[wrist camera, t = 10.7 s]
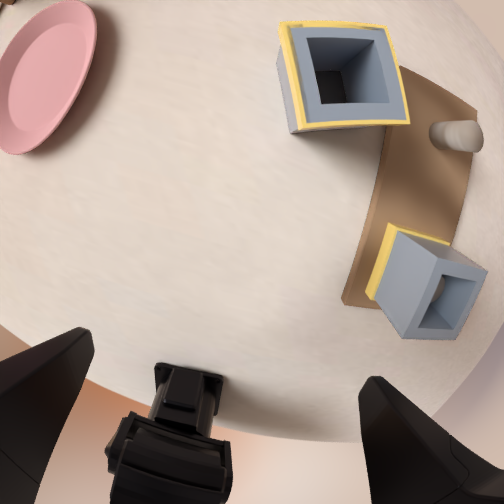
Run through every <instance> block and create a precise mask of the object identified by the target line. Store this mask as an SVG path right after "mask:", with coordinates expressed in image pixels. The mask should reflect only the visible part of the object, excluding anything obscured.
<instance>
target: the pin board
mask: <svg viewBox="0 0 504 504" xmlns="http://www.w3.org/2000/svg"><path fill="white" fill-rule="evenodd" d="M399 69H400V73H401V77H402V82H403V86H404V91H405V96H406V101H407V106H408V112H409V118H410V124H407V125H399V126H395V125H387V127H386V133H385V139H384V144H383V149H382V154H381V159H380V164H379V169H378V173H377V178H376V182H375V186H374V190H373V195H372V199H371V203H370V206H369V210H368V214H367V218H366V221H365V225H364V229H363V232H362V235H361V239H360V242H359V246H358V249H357V252H356V255H355V258H354V262H353V265H352V268H351V271H350V274H349V277H348V280H347V283H346V285H345V288H344V291H343V294H342V297H341V299H342V301H343V303H344V305H348V306H356V307H364V308H372V309H381V307H380V306H379V305H378V303H377V302H376V301H374V300H370V299H369V297H368V296H367V294H366V293H365V290H366V288H367V285H368V282H369V279H370V277H371V274H372V271H373V268H374V265H375V263H376V260H377V257H378V254H379V251H380V247H381V244H382V241H383V238H384V235H385V231H386V228H387V225H388V222H389V223H393V224H397V225H400V226H404V227H407V228H410V229H414V230H417V231H421V232H424V233H427V234H430V235H434V236H437V237H440V238H442V239H444V240H446V241H448V242H449V243H450V245H449V246H450V247H451V244H452V240H453V237H454V234H455V231H456V227H457V224H458V221H459V217H460V213H461V209H462V206H463V202H464V197H465V193H466V189H467V184H468V179H469V174H470V168H471V162H472V156H473V152H479V151H480V150H481V149H482V147H483V142H484V138H483V133H482V130H481V128H480V126H479V125H478V124H477V123H476V122H477V110H476V109H474V108H473V107H471V106H470V105H469V104H467V103H466V102H464V101H463V100H461V99H460V98H458V97H457V96H455V95H453V94H452V93H450V92H449V91H447V90H445V89H444V88H442V87H440V86H439V85H437V84H435V83H433V82H432V81H430V80H428V79H426V78H424V77H422V76H420V75H419V74H417V73H415V72H413V71H411V70H409V69H407V68H404V67H402V66H399ZM444 287H445V280H444V278H443V277H442V276H441V278H440V281H439V283H438V286H437V288H436V290H435V293H434V295H433V297H432V299H431V302H433V301H435V300H437V299H438V298H439V297H440V295H441V294H442V292H443V290H444ZM431 302H430V303H431ZM381 310H382V309H381Z"/></svg>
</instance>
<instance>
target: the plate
mask: <svg viewBox="0 0 504 504" xmlns="http://www.w3.org/2000/svg"><path fill="white" fill-rule="evenodd" d="M96 40H97V23H96V18H95V15H94V13H93V11H92V9H91V8H90V7H89V6H88V5H87V4H85V3H84V2H81V1H78V0H65V1H61V2H58V3H55V4H53V5H51V6H49V7H47V8H45V9H43V10H42V11H40V12H39V13H38V14H36V15H35V16H34V17H32V18H31V19H30V20H29V21H28V22H27V23H26V24H25V25H24V26H23V27H22V28H21V29H20V30H19V32H18V33H17V34H16V35H15V37H14V38H13V39H12V41H11V42H10V44H9V45H8V47H7V48H6V50H5V52H4V53H3V55H2V57H1V59H0V149H2V150H3V151H4V152H6V153H9V154H13V155H19V154H24V153H27V152H29V151H31V150H33V149H35V148H36V147H38V146H39V145H40V144H42V143H43V142H44V141H45V140H46V139H47V138H48V137H49V136H50V135H51V134H52V133H53V132H54V131H55V129H56V128H57V127H58V126H59V124H60V123H61V122H62V120H63V119H64V117H65V116H66V114H67V113H68V111H69V110H70V108H71V106H72V105H73V103H74V101H75V99H76V98H77V96H78V94H79V92H80V90H81V88H82V86H83V83H84V81H85V79H86V76H87V74H88V71H89V68H90V65H91V62H92V59H93V55H94V51H95V46H96Z"/></svg>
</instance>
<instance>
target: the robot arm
mask: <svg viewBox="0 0 504 504" xmlns="http://www.w3.org/2000/svg"><path fill="white" fill-rule="evenodd" d="M94 352H95V351H94V344H93V340H92V334H91V332H90V330H88V329H85V328H82V327H77V328H75V329H72V330H70V331H68V332H66V333H63V334H61V335H59V336H56V337H54V338H52V339H50V340H47V341H45V342H43V343H41V344H38V345H36V346H34V347H32V348H30V349H27V350H25V351H23V352H20V353H18V354H16V355H14V356H11V357H9V358H7V359H5V360H3V361H1V362H0V504H34V502H35V499H36V496H37V493H38V490H39V487H40V483H41V481H42V478H43V475H44V472H45V470H46V467H47V464H48V462H49V459H50V457H51V454H52V452H53V449H54V447H55V444H56V442H57V440H58V437H59V435H60V433H61V431H62V429H63V426H64V424H65V422H66V419H67V417H68V415H69V413H70V411H71V409H72V407H73V405H74V403H75V401H76V399H77V396H78V395H79V392H80V390H81V388H82V385H83V382H84V380H85V377H86V374H87V372H88V369H89V366H90V364H91V361H92V359H93V356H94ZM159 367H160V368H159ZM154 370H155V383H156V396H155V398H154V401H153V404H152V407H151V409H150V413H149V415H148V418H145V417H142V416H140V415H137V413H135V412H133V411H130V413H129V415H128V417H125V418H122V420H121V423H120V425H119V427H118V430H117V432H116V433H115V435H114V436H113V438H112V439H111V440H110V442H109V443H108V445H107V446H106V448H105V454H106V456H107V458H108V472H109V473H112V474H114V475H115V476H114V480H113V484H112V488H111V492H110V504H225V503H226V502H227V500H228V498H229V495H230V492H231V488H232V482H233V471H232V459H231V447H230V442H229V441H225V440H224V441H220V440H216V439H212V438H210V434H211V427H212V421H213V416H216V415H217V413H218V407H219V402H220V396H221V391H222V385H223V377H222V376H220V375H216V374H210V373H205V372H199V371H194V370H190V369H185V368H180V367H176V366H172V365H167V364H163V363H156V365H155V367H154ZM358 401H359V412H360V425H361V436H362V442H363V448H364V454H365V459H366V466H367V472H368V479H369V486H370V494H371V502H372V504H504V470H502V469H499V468H497V467H495V466H493V465H492V464H490V463H489V462H487V461H486V460H484V459H483V458H481V457H480V456H478V455H477V454H475V453H474V452H472V451H471V450H469V449H468V448H467V447H465V446H464V445H463V444H461V443H460V442H459V441H458V440H456V439H455V438H454V437H453V436H452V435H449V433H448V432H447V431H446V430H444V429H443V428H442V427H441V426H440V425H438V424H437V423H436V422H435V421H434V420H432V419H431V418H430V417H429V416H428V415H427V414H425V413H424V412H423V411H422V410H421V409H419V408H418V407H417V406H416V405H415V404H414V403H412V402H411V401H410V400H409V399H408V398H406V397H405V396H404V395H403V394H402V393H401V392H399V391H398V390H397V389H396V388H395V387H394V386H392V385H391V384H390V383H389V382H388V381H387V380H385V379H384V378H383V377H382V376H370V377H369V378H368V379H367V381H366V382H365V384H364V386H363V387H362V389H361V390H360V392H359V396H358Z"/></svg>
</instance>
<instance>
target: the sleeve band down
mask: <svg viewBox="0 0 504 504" xmlns="http://www.w3.org/2000/svg"><path fill="white" fill-rule="evenodd" d="M449 245H450V243H449V242H448V241H446V240H444V239H442V238H440V237H437V236H434V235H430V234H427V233H424V232H421V231H417V230H414V229H410V228H407V227H404V226H400V225H397V224H393V223H389V222H388V225H387V228H386V231H385V235H384V238H383V241H382V244H381V247H380V251H379V254H378V257H377V260H376V263H375V265H374V268H373V271H372V274H371V277H370V279H369V282H368V285H367V288H366V290H365V293H366V294H367V296H368V297H369V299H370V300H374V301H376V302H377V303H378V305H379V306H380V307H381V309H382V310H383V312H384V313H385V315H386V316H387V318H388V319H389V320H390V322H391V323H392V325H393V326H394V328H395V329H396V331H397V332H398V334H399V335H400V337H401V338H402V339H423V340H456V338H457V336H458V334H459V332H460V331H461V329H462V327H463V325H464V323H465V321H466V319H467V317H468V315H469V313H470V311H471V309H472V307H473V305H474V303H475V301H476V298H477V296H478V294H479V292H480V289H481V287H482V285H483V282H484V280H485V277H486V275H487V272H488V271H487V270H485V269H484V268H482V267H481V266H479V265H478V264H477V263H475V262H474V261H472V260H470V259H469V258H467V257H466V256H464V255H463V254H461V253H460V252H458V251H456V250H455V249H453V248H452V247H450V246H449ZM441 276H442V277H443V278H444V280H445V287H444V290H443V292H442V294H441V295H440V297H439V298H438V299H437V300H435V301H433V302H431V299H432V297H433V295H434V293H435V290H436V288H437V286H438V283H439V281H440V278H441ZM430 302H431V303H430Z"/></svg>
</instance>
